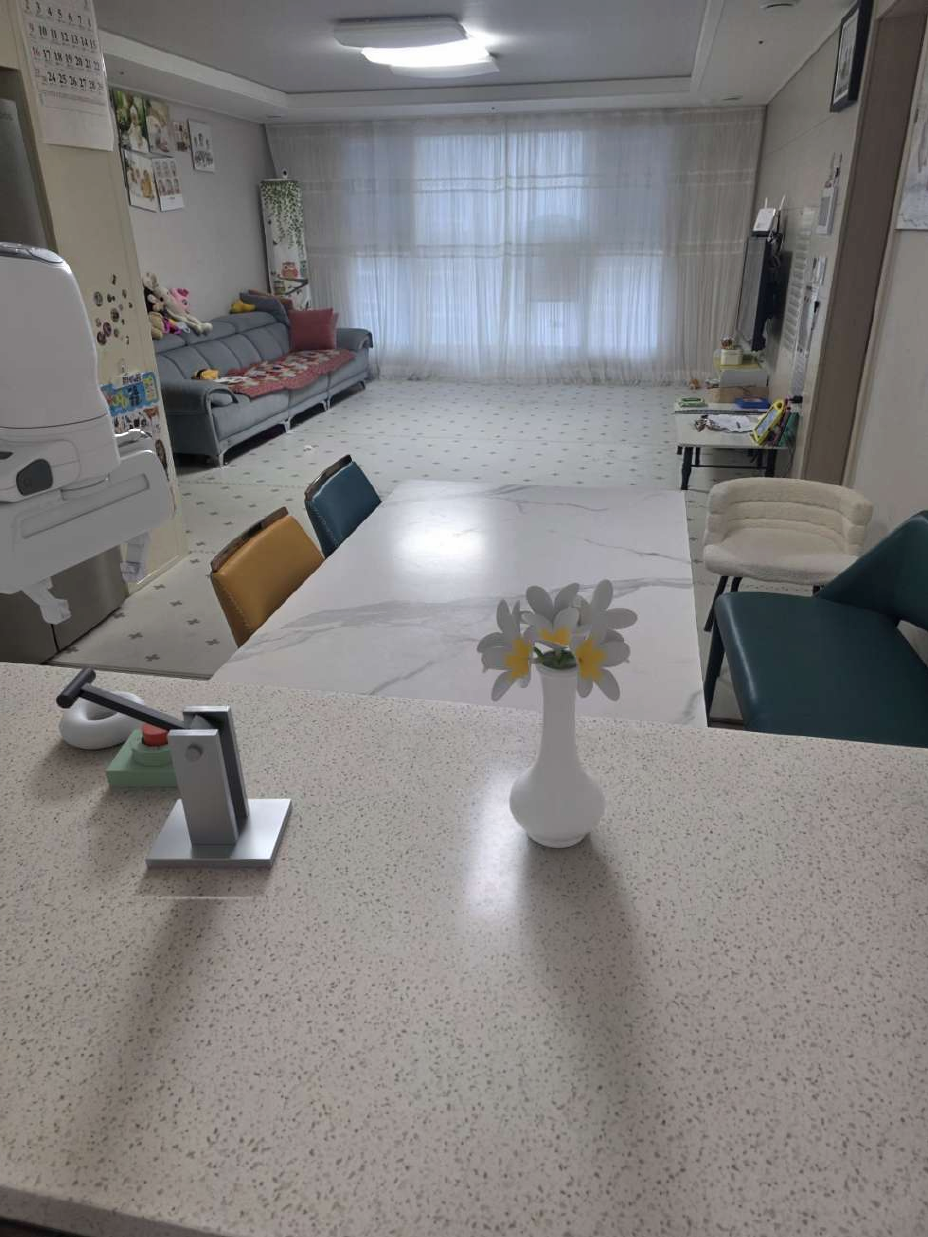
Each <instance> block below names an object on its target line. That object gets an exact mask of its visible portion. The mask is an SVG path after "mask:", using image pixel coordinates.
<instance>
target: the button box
mask: <svg viewBox="0 0 928 1237" xmlns="http://www.w3.org/2000/svg"><path fill="white" fill-rule="evenodd" d="M105 775H106V778H107V782H108V786H109V787H110V788H178V783H177V779H176V774H175V770H174V766H173V761H172V757H171V752H170V748H169V744H166V745H163V746H159V747H149V746H147V745H146V744H145V742H144V738H143V734H142V728H141V729H139V730H134V731H133V732H132V734H131V735H130V737H129V738H128V739H127V740H126V741H124V744H123V745H122V746H121V748H120V749H119V751H118V752H117V753H116V755H115V757H114V758H113V759H112V761H111V762H110V763H109V765H108V766H107V768H106V769H105Z"/></svg>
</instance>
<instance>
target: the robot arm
mask: <svg viewBox="0 0 928 1237" xmlns="http://www.w3.org/2000/svg"><path fill="white" fill-rule="evenodd" d="M98 368H99V354H98V351H97V345H96V340H95V337H94V333H93V329H92V325H91V321H90V317H89V315H88V311H87V308H86V303H85V301H84V298H83V295H82V292H81V289H80V286H79V285H78V281H77V279H76V277H75V275H74V273H73V271H72V269H71V268H70V265H68V263H67V262H66V261H65V259H64V258H62V257H61V256H59V254H57V253H55V252H53V251H51V250H49V249H47V248H44V247H40V246H37V245H32V244H28V243H27V244H26V243H21V242H13V241H0V593H1V594H6V595H12V594H13V595H14V594H16V593H18V592H21V591H22V592H23V593H24V594H25V595H26V596H27V597H28V598H30V599H31V600H32V601H33V602H35V604H36V605H38V606H39V609H40V612H41V616H42V619H43V620H44V622H46V623H47V624H51V625H59V624H60V623H62V622H64V621H66V620H68V619H69V618H71V617H72V612H71V611H70V610H69V609H70V605H69V602H68V601H69V600H68V599H63V598H60V599H59V597H58V598H57V597H55V596H54V595H53V594H52V593H51V592H50V591H49V590H51V589H52V588H53V582H52V578H51V577H53V576H55V575H58V574H59V573H62V572H64V571H66V570H68V569H70V568H73V567H74V566H76V565H78V564H81V563H83V562H85V561H87V560H89V559H91V558H93V557H95V556H98V555H100V554H103V553H104V552H106V551H109V550H111V549H113V548H115V547H117V546H119V545H122V544H127V546H126V553H125V561H123V562H122V563H120V564H119V568H120V571H121V572H122V574H121V577H122V579H123V580H124V581H125V582H126V583H131V584H136V583H138V582H139V581H142V580H144V579H145V578H147V577H148V571H147V566H146V562H145V561H146V560H147V556H148V552H149V547H150V543H151V537H150V533H149V532H150V531H152V530H154V529H157V528H158V527H160V526H162V525H165V524H167V523H169V522H170V521H172V519H173V516H174V512H175V502H174V499H173V494H172V491H171V487H170V483H169V481H168V478H167V474H166V472H165V469H164V466H163V464H162V461H161V460H160V457H159V456H158V454H157V449H156V444H155V442H154V439H153V438H152V437H151V435H149V434H148V433H146V432H144V431H141V430H140V429H139V428H131V429H127V430H125V431H124V432H122V433H121V432H120V433H116V432H115V429H114V423H113V419H112V414H111V409H110V405H109V402H108V401H107V399H106V397H105V395H104V394H103V392H102V389H101V386H100V383H99V382H100V381H99V377H98Z"/></svg>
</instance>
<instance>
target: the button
mask: <svg viewBox="0 0 928 1237" xmlns="http://www.w3.org/2000/svg"><path fill="white" fill-rule="evenodd" d="M168 733H169V732H168V731H166V730H163V729H160V728H158V727H155V726H153V725H150V724H147V723H145V724H144V725H143V726H142V734H143V738H144V742H145V744H146V745H147V746H149V747H159V746H163V745H166V744H168V739H167V735H168Z"/></svg>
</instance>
